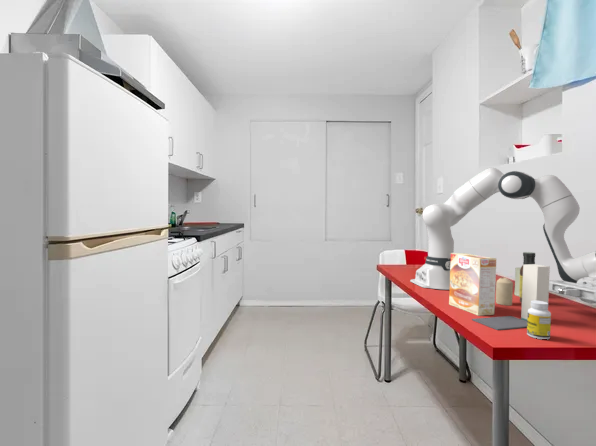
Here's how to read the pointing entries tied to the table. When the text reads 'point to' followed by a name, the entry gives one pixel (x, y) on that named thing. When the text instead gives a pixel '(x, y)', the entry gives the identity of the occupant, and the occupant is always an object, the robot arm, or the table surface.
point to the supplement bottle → (539, 320)
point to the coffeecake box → (472, 283)
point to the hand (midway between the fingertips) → (561, 291)
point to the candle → (504, 291)
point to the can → (517, 281)
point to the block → (534, 286)
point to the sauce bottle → (528, 259)
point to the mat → (502, 322)
